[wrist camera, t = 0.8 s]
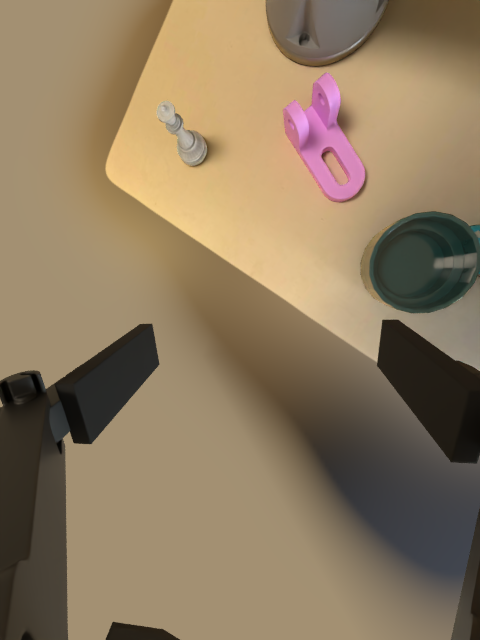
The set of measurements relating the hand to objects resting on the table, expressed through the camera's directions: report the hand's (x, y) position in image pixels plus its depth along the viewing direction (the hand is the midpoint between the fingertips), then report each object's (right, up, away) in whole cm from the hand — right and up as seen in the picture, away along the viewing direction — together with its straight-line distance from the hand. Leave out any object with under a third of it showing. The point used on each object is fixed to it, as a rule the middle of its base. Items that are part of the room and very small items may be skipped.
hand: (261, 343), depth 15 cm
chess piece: (-8, +27, +25) cm, 38 cm away
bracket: (+11, +24, +22) cm, 34 cm away
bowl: (+22, +9, +22) cm, 32 cm away
